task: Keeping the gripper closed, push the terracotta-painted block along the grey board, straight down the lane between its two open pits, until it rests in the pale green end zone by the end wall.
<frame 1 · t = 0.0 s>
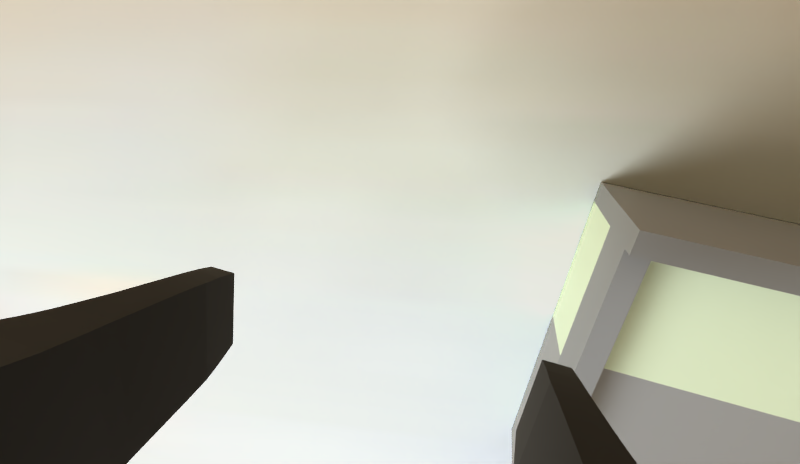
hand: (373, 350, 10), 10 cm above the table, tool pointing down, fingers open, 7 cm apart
board: (689, 458, 20), on the table
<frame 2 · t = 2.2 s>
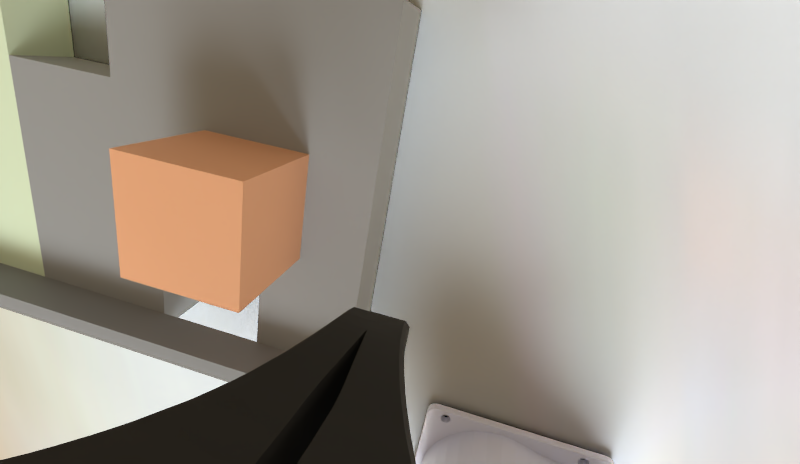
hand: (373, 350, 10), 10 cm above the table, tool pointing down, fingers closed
board: (176, 152, 21), on the table
block: (253, 196, 18), point 3 cm above the table, touching board
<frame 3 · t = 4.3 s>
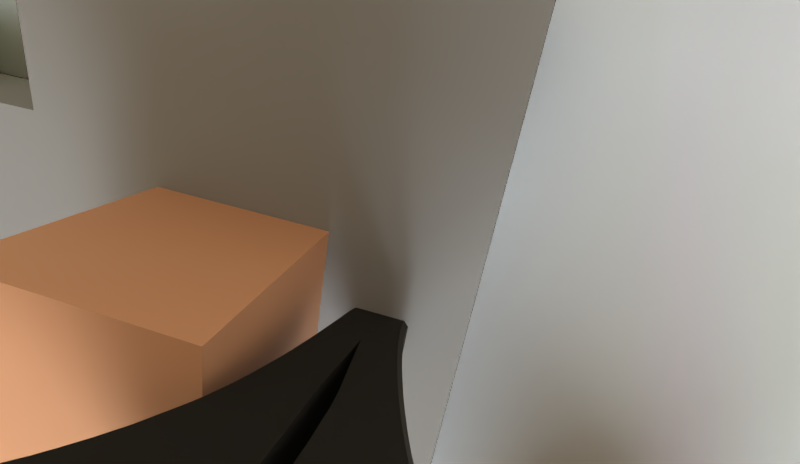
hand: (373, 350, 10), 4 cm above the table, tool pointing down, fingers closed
board: (151, 210, 15), on the table
block: (238, 289, 11), point 3 cm above the table, touching board, gripper
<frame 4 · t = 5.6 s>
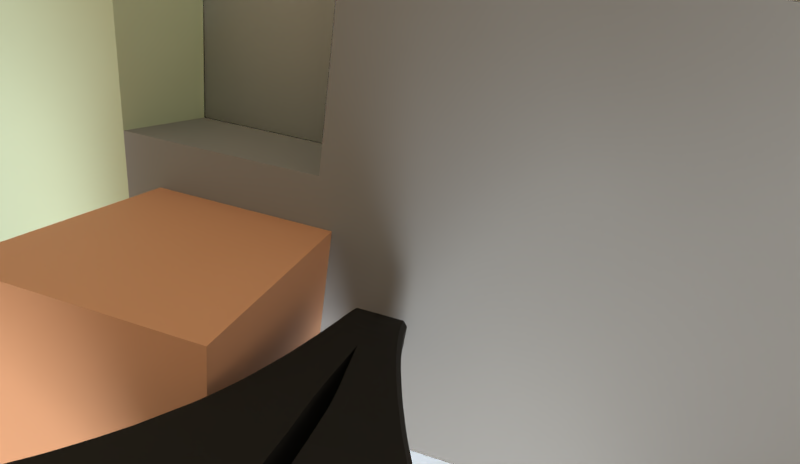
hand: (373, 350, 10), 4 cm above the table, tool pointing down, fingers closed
board: (362, 264, 14), on the table
block: (241, 289, 11), point 3 cm above the table, touching gripper
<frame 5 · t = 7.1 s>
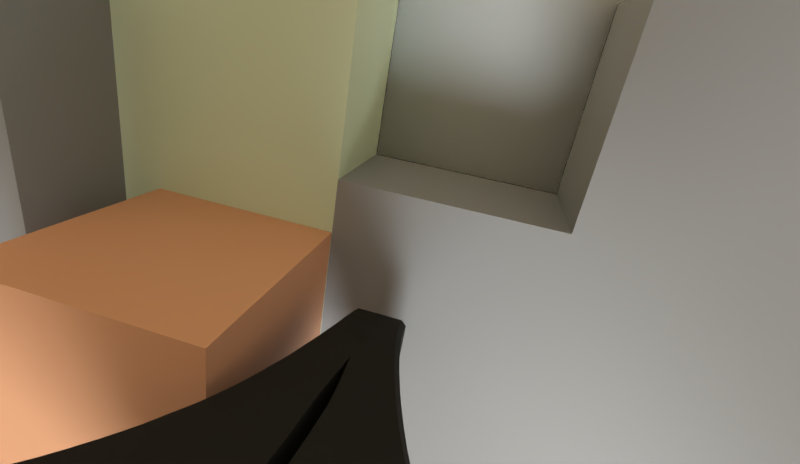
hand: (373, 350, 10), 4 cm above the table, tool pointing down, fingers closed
board: (537, 310, 13), on the table
block: (240, 290, 11), point 3 cm above the table, touching board, gripper
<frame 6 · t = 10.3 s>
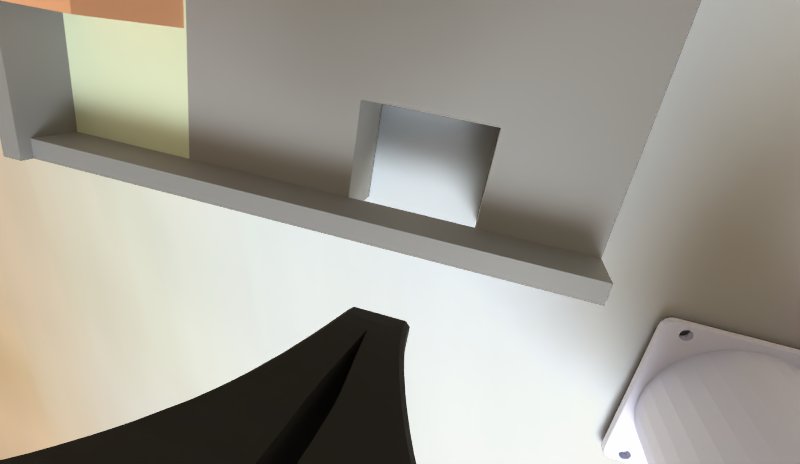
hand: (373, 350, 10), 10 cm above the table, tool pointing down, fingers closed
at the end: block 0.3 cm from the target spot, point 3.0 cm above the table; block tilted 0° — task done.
